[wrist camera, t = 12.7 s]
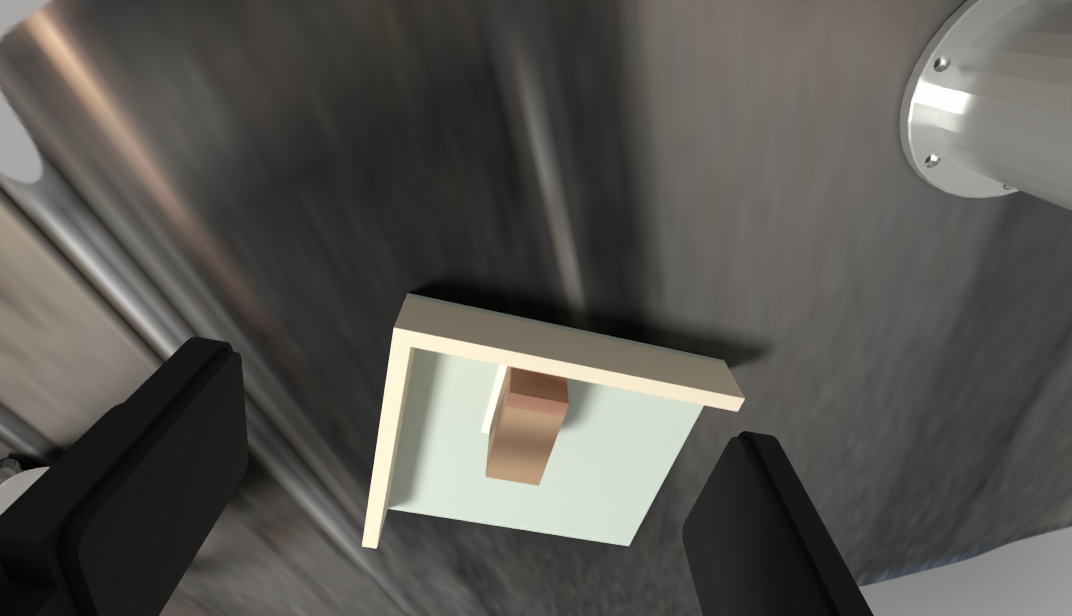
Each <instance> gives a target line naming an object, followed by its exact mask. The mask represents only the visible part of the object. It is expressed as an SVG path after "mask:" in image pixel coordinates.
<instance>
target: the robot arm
mask: <svg viewBox="0 0 1072 616" xmlns="http://www.w3.org/2000/svg"><path fill="white" fill-rule="evenodd" d="M900 135H901V142H902V148H903V150H904V153H905V155H906V158H907V160H908V163H909V164H910V165H911V167H912V168H913V169H914V171H915V172H916V173H917V174H918V176H920V177H921V178H922V179H924V180H925V181H926V182H928V183H929V184H930V185H932V186H934V187H936V188H939V189H941V190H943V191H945V192H947V193H950V194H954V195H957V196H961V197H968V198H989V197H997V196H1003V195H1007V194H1010V193H1014V192H1017V191H1023V192H1026V193H1028V194H1031V195H1033V196H1036V197H1038V198H1041V199H1044V200H1046V201H1049V202H1051V203H1054V204H1056V205H1059V206H1061V207H1064V208H1067V209H1069V210H1072V0H967V1H966V2H965V3H964V4H963V5H962V6H961V7H960V8H959V9H958V10H957V11H956V12H954V13H953V14H952V15H951V16H950V17H949V18H948V19H947V20H946V22H945V23H944V24H943V25H942V27H941V28H940V29H939V30H938V32H937V33H936V34H935V35H934V37H933V38H932V39H931V40H930V42H929V43H928V45H927V47H926V48H925V50H924V52H923V53H922V55H921V56H920V58H919V60H918V61H917V63H916V65H915V67H914V70H913V72H912V74H911V77H910V79H909V81H908V84H907V86H906V90H905V94H904V98H903V102H902V106H901V114H900ZM248 459H249V455H248V442H247V428H246V414H245V400H244V387H243V373H242V359H241V355H240V353H238V352H233V350H232V346H231V345H230V343H228V342H223V341H218V340H212V339H206V338H200V337H192V338H190V339H189V340H187V341H186V342H185V343H184V344H183V345H182V346H181V347H180V348H179V349H178V350H177V351H176V352H175V353H174V354H173V355H172V356H171V357H170V358H169V359H168V360H167V361H166V362H165V363H164V364H163V365H162V366H161V367H160V368H159V369H158V370H157V371H156V372H155V373H154V374H153V375H152V376H151V377H150V378H149V379H148V380H147V381H145V382H144V383H143V384H142V385H141V386H140V387H139V388H138V389H137V390H136V391H135V392H134V393H133V394H132V395H131V396H130V397H129V398H128V399H127V400H126V401H125V402H124V403H122V404H119V405H116V406H114V407H113V408H112V409H110V410H109V411H108V412H107V413H106V414H104V415H103V416H102V417H101V418H100V419H99V420H98V421H97V422H96V423H95V424H94V425H93V426H92V427H91V428H90V429H89V430H88V431H87V432H86V433H85V434H84V435H83V436H82V437H81V438H80V439H79V440H78V441H77V442H76V443H74V444H73V445H72V446H71V447H70V448H69V449H68V450H67V451H66V452H65V453H64V454H63V455H62V456H61V457H60V458H59V459H58V460H57V461H56V462H55V463H54V464H53V465H52V466H51V467H50V468H49V469H48V470H47V471H45V472H44V473H43V474H42V475H41V476H40V477H39V478H38V479H37V480H36V481H35V482H34V483H33V484H32V485H31V486H30V487H29V488H28V489H27V490H26V491H25V492H24V493H23V494H22V495H21V496H20V497H19V498H18V499H17V500H15V501H14V502H13V503H12V504H11V505H10V506H9V507H8V508H7V509H6V510H5V511H4V512H3V513H2V514H1V515H0V616H159V614H160V613H161V611H162V610H163V608H164V606H165V605H166V603H167V601H168V600H169V598H170V596H171V595H172V593H173V592H174V590H175V588H176V587H177V585H178V583H179V582H180V580H181V578H182V577H183V575H184V574H185V572H186V570H187V569H188V567H189V565H190V564H191V562H192V560H193V559H194V557H195V555H196V554H197V552H198V551H199V549H200V547H201V546H202V544H203V542H204V541H205V539H206V537H207V536H208V534H209V533H210V531H211V529H212V528H213V526H214V524H215V523H216V521H217V519H218V518H219V516H220V515H221V513H222V511H223V510H224V508H225V506H226V505H227V503H228V501H229V500H230V498H231V497H232V495H233V493H234V492H235V490H236V488H237V487H238V485H239V483H240V482H241V480H242V478H243V476H244V474H245V472H246V469H247V466H248ZM682 537H683V544H684V547H685V551H686V555H687V558H688V562H689V566H690V570H691V573H692V577H693V581H694V584H695V588H696V592H697V595H698V599H699V603H700V607H701V610H702V614H703V616H874V615H873V614H872V612H871V610H870V608H869V606H868V604H867V603H866V601H865V599H864V597H863V595H862V594H861V592H860V590H859V588H858V586H857V584H856V582H855V581H854V579H853V577H852V575H851V573H850V571H849V570H848V568H847V566H846V564H845V562H844V560H843V559H842V557H841V555H840V553H839V551H838V549H837V548H836V546H835V544H834V542H833V540H832V538H831V537H830V535H829V533H828V531H827V529H826V527H825V526H824V524H823V522H822V520H821V518H820V516H819V515H818V513H817V511H816V509H815V507H814V505H813V504H812V502H811V500H810V498H809V496H808V494H807V493H806V491H805V489H804V487H803V485H802V483H801V482H800V480H799V478H798V476H797V474H796V473H795V471H794V469H793V467H792V465H791V463H790V462H789V460H788V458H787V456H786V454H785V452H784V451H783V449H782V447H781V445H780V443H779V441H778V440H777V439H776V438H775V437H774V436H771V435H766V434H760V433H754V432H748V431H743V432H742V433H740V434H739V436H738V437H733V438H731V439H730V441H729V442H728V444H727V446H726V448H725V449H724V451H723V453H722V455H721V457H720V459H719V460H718V462H717V464H716V466H715V468H714V470H713V471H712V473H711V475H710V477H709V479H708V481H707V482H706V484H705V486H704V488H703V490H702V492H701V493H700V495H699V497H698V499H697V501H696V503H695V504H694V506H693V508H692V510H691V512H690V514H689V515H688V517H687V519H686V521H685V523H684V526H683V533H682Z"/></svg>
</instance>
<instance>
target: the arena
mask: <svg viewBox="0 0 1072 616" xmlns="http://www.w3.org/2000/svg"><path fill="white" fill-rule="evenodd" d="M507 366H510V367H515V368H520V369H525V370H530V371H535V372H540V373H545V374H550V375H555V376H560V377H565V378H567V388H568V398H569V405H568V408H567V411H566V414H565V416H564V419H563V422H562V425H561V427H560V430H559V433H558V435H557V438H556V441H555V444H554V446H553V449H552V452H551V454H550V457H549V460H548V463H547V465H546V468H545V471H544V474H543V476H542V479H541V482H540V484H539V486H537V485H531V484H525V483H519V482H513V481H507V480H501V479H495V478H489V477H485V476H486V464H487V453H488V442H489V431H490V426H491V422H492V419H493V415H494V411H495V408H496V404H497V401H498V397H499V393H500V390H501V386H502V383H503V379H504V376H505V372H506V368H507ZM744 400H745V398H744V396H743V394H742V392H741V390H740V389H739V387H738V385H737V383H736V381H735V379H734V377H733V376H732V374H731V372H730V370H729V368H728V366H727V365H726V363H725V361H724V360H721V359H716V358H711V357H707V356H702V355H697V354H693V353H688V352H683V351H678V350H674V349H669V348H664V347H660V346H655V345H650V344H645V343H641V342H636V341H631V340H627V339H622V338H617V337H612V336H608V335H603V334H598V333H594V332H589V331H584V330H580V329H575V328H570V327H565V326H561V325H556V324H551V323H547V322H542V321H537V320H532V319H528V318H523V317H518V316H514V315H509V314H504V313H499V312H495V311H490V310H485V309H481V308H476V307H471V306H467V305H462V304H457V303H452V302H448V301H443V300H438V299H434V298H429V297H424V296H419V295H415V294H410V293H408V294H407V296H406V299H405V301H404V304H403V306H402V309H401V311H400V314H399V316H398V319H397V321H396V324H395V326H394V330H393V337H392V344H391V351H390V358H389V364H388V371H387V378H386V385H385V392H384V399H383V405H382V412H381V419H380V426H379V433H378V440H377V447H376V453H375V460H374V467H373V474H372V481H371V488H370V495H369V501H368V508H367V515H366V522H365V529H364V536H363V543H362V546H363V547H370V548H377V545H378V542H379V538H380V534H381V531H382V527H383V523H384V520H385V516H386V513H387V509H394V510H401V511H407V512H413V513H420V514H426V515H433V516H439V517H445V518H452V519H458V520H465V521H471V522H477V523H484V524H490V525H496V526H503V527H509V528H516V529H522V530H528V531H535V532H541V533H548V534H554V535H560V536H567V537H573V538H580V539H586V540H592V541H599V542H605V543H612V544H618V545H624V546H629V545H630V543H631V541H632V539H633V537H634V535H635V533H636V532H637V530H638V528H639V526H640V524H641V522H642V520H643V519H644V517H645V515H646V513H647V511H648V509H649V507H650V505H651V504H652V502H653V500H654V498H655V496H656V494H657V492H658V491H659V489H660V487H661V485H662V483H663V481H664V479H665V477H666V476H667V474H668V472H669V470H670V468H671V466H672V464H673V463H674V461H675V459H676V457H677V455H678V453H679V451H680V449H681V448H682V446H683V444H684V442H685V440H686V438H687V436H688V435H689V433H690V431H691V429H692V427H693V425H694V423H695V421H696V420H697V418H698V416H699V414H700V412H701V410H702V408H703V407H704V405H706V406H711V407H716V408H721V409H726V410H731V411H736V412H738V410H739V408H740V407H741V405H742V403H743V401H744Z"/></svg>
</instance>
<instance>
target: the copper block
mask: <svg viewBox="0 0 1072 616" xmlns="http://www.w3.org/2000/svg"><path fill="white" fill-rule="evenodd" d="M568 405H569V398H568V388H567V378H565V377H560V376H555V375H550V374H545V373H540V372H535V371H530V370H525V369H520V368H515V367H510V366H507V368H506V372H505V376H504V379H503V383H502V386H501V390H500V393H499V397H498V401H497V404H496V408H495V411H494V415H493V419H492V422H491V426H490V431H489V442H488V453H487V464H486V476H485V477H489V478H495V479H501V480H507V481H513V482H519V483H525V484H531V485H537V486H539V484H540V482H541V479H542V476H543V474H544V471H545V468H546V465H547V463H548V460H549V457H550V454H551V452H552V449H553V446H554V444H555V441H556V438H557V435H558V433H559V430H560V427H561V425H562V422H563V419H564V416H565V414H566V411H567V408H568Z"/></svg>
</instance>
